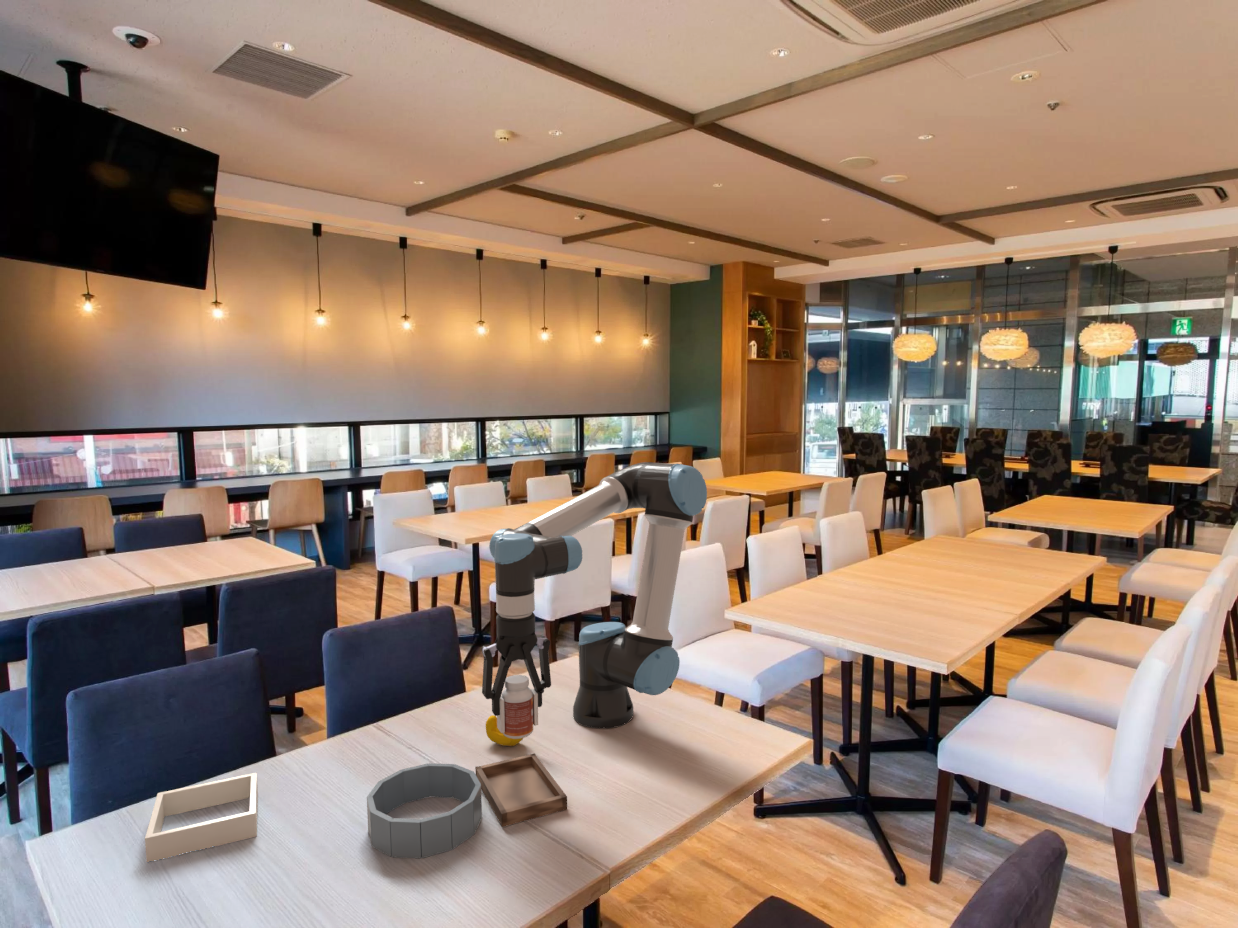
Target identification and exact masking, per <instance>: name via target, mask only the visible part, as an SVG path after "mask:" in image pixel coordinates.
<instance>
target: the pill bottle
mask: <svg viewBox="0 0 1238 928" xmlns="http://www.w3.org/2000/svg"><path fill="white" fill-rule="evenodd" d="M529 678H530V677H528V676H527V675H523V674H514V675H510V676H507V677H506V680H505V684H504V687H505V688H504V689H503V690H502V694H501V697H502V698H503V699H504V716H505V732H503V734H504V736H506V737H508V738H512V739H521V738H523V739H524V738H527V737H529V736H531V735H532V734H533V732H534V724H533V693H532V690H531V689H532V688H530V687H529V685H530V681H529V680H530V679H529Z"/></svg>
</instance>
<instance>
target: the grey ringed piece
mask: <svg viewBox="0 0 1238 928" xmlns="http://www.w3.org/2000/svg"><path fill="white" fill-rule="evenodd" d="M426 798H445V799H446V798H447V799H449V798H451V799H454V800H458V801H459V802H461V804H459V805H457V806H456V807H454V808H452V809H451V810H449V811H447V812H443V813H440V814H436V815H433V816H432V815H431V816H428V817H427V816H426V817H424V818H421V819H420V818H397V817H395V818H394V817H392V816H390V815H388V813H390V812H392V811H394V810H395V809H397V808H398V807H400V806H402V805H404V804H407V803H410V802H411V803H412V802H415V801H419V800H423V799H426ZM482 803H483V802H482V790H481V783H480V782H479V780H478V778H477V776H476V772H475V771H473V770H471V769H468V768H465V767H463V766H461V765H458V764H455V763H430V762H429V763H425V764H419V765H415V766H411V767H406V768H402V769H399V770H398V771H395V772H393V773H391V774H390V775H388V776H386V777H384V778H383V779H380V780H379V781H378V782H376V784H375V786H374V787H373V788H372V789H371V791H370V792H369V793H368V794H367V796H366V810H367V813H366V814H367V833H368V835H369V840H370V845H371V847H372V848H374V849H376V850H378V851H379V852H381V853H383V854H384V855H387V856H388V857H391V858H402V859H403V858H406V859H409V858H410V859H411V858H412V859H425V858H427V857H431V856H434V855H437V854H441V853H442V854H443V853H445V852H449V851H452V850H454V849H455V848H457V847H458V846H460V845H461V844H462V843H465V841H467V840H469V838H471V837H473V836H474V835H475V834H476V832H477V829H478V827H479V825H480V823H481V820H482V819H483V810H482V809H483V806H482Z"/></svg>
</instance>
